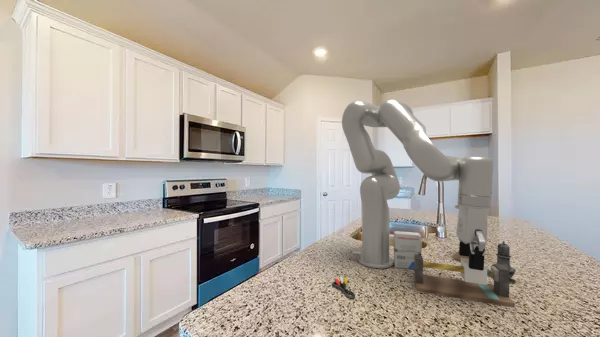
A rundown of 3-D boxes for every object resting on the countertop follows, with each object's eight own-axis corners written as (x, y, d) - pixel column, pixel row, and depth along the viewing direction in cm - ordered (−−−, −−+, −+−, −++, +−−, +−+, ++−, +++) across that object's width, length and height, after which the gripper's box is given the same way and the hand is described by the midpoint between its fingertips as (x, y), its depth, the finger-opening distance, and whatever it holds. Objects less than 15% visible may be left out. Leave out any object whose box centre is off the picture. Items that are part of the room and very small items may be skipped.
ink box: (419, 265, 86) (419, 232, 86) (421, 270, 82) (421, 235, 82) (393, 262, 89) (393, 230, 89) (394, 267, 84) (394, 233, 84)
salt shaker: (520, 284, 72) (521, 244, 72) (498, 282, 73) (498, 242, 73) (508, 276, 78) (508, 238, 78) (487, 274, 79) (487, 237, 79)
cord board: (416, 291, 68) (416, 262, 68) (413, 276, 77) (413, 251, 77) (514, 307, 60) (514, 275, 60) (498, 288, 69) (498, 260, 69)
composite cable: (357, 300, 64) (357, 290, 64) (339, 301, 63) (339, 291, 63) (345, 282, 74) (345, 274, 74) (330, 283, 73) (330, 275, 73)
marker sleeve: (464, 281, 66) (465, 263, 66) (460, 275, 70) (460, 257, 70) (487, 284, 64) (487, 266, 64) (481, 277, 69) (481, 260, 69)
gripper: (451, 196, 77) (448, 249, 77) (466, 204, 61) (463, 272, 61) (479, 198, 74) (476, 253, 75) (503, 208, 58) (499, 278, 59)
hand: (470, 262), depth 68 cm, fingers open, 9 cm apart
